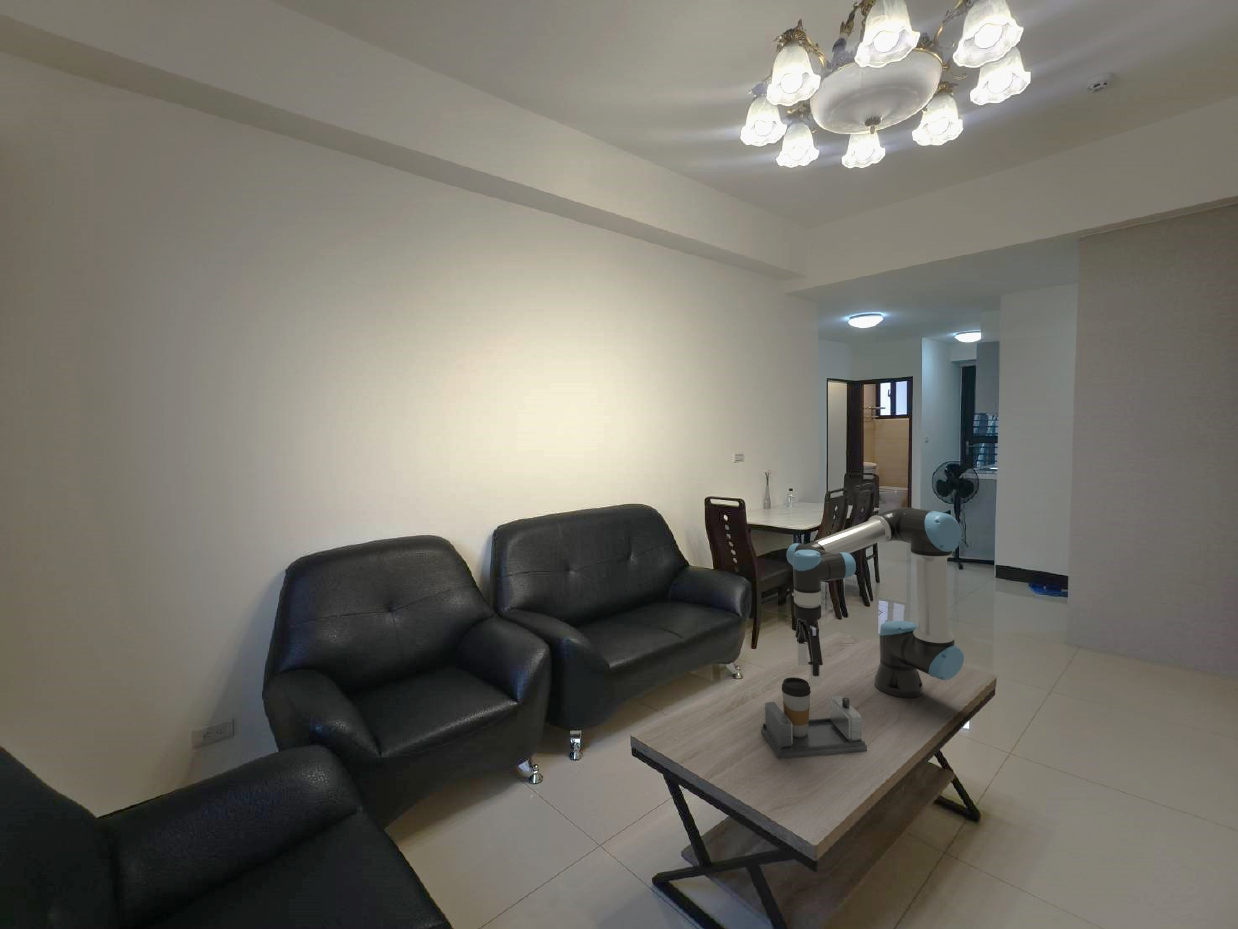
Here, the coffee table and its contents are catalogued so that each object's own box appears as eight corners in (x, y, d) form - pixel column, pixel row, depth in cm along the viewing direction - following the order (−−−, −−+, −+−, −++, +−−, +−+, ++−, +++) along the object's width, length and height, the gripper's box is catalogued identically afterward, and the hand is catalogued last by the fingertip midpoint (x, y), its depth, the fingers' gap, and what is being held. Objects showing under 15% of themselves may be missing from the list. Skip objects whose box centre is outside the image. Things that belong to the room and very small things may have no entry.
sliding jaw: (840, 720, 166) (840, 689, 166) (861, 743, 154) (861, 709, 154) (829, 721, 166) (829, 690, 165) (849, 744, 154) (849, 710, 153)
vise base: (841, 724, 167) (841, 694, 167) (866, 750, 153) (866, 718, 153) (761, 731, 165) (760, 701, 164) (779, 759, 151) (778, 726, 150)
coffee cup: (778, 724, 165) (777, 677, 165) (804, 723, 166) (803, 675, 165) (788, 740, 157) (787, 690, 156) (816, 738, 158) (815, 688, 157)
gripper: (784, 590, 169) (785, 656, 171) (805, 619, 144) (806, 695, 146) (809, 590, 168) (810, 656, 170) (834, 619, 144) (835, 695, 145)
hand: (808, 674), depth 158 cm, fingers open, 13 cm apart
